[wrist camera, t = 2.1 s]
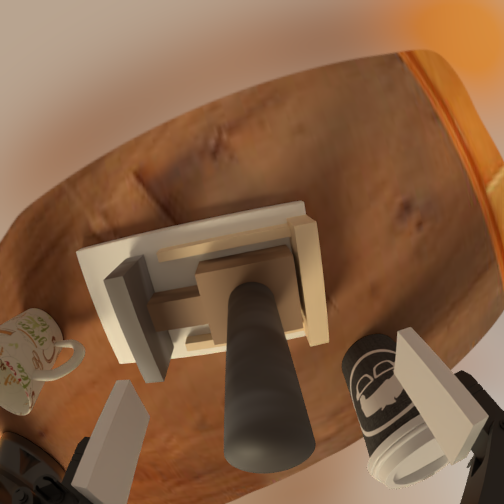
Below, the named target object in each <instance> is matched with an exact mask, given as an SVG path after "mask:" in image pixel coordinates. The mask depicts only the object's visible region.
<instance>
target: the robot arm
mask: <svg viewBox="0 0 504 504" xmlns="http://www.w3.org/2000/svg"><path fill="white" fill-rule="evenodd" d="M394 374H395V376H396V377H397V379H398V380H399V382H400V383H401V385H402V386H403V388H404V390H405V391H406V393H407V394H408V396H409V397H410V399H411V400H412V402H413V403H414V405H415V407H416V408H417V410H418V411H419V413H420V414H421V416H422V418H423V419H424V421H425V422H426V424H427V426H428V427H429V429H430V430H431V432H432V434H433V435H434V437H435V439H436V440H437V442H438V443H439V445H440V447H441V448H442V450H443V452H444V453H445V455H446V457H447V458H448V460H449V462H450V463H451V465H453V464H455V463H457V462H459V461H461V460H462V459H464V458H466V457H467V455H468V454H469V452H470V450H472V452H473V453H474V456H473V457H472V459H471V460H470V462H469V463H468V466H467V468H469V467H470V465H471V467H470V471H469V475H468V479H467V483H466V486H465V490H464V493H463V496H462V500H461V503H460V504H504V411H503V410H502V409H501V408H500V407H499V406H498V405H497V404H496V402H495V401H494V400H493V399H492V398H491V397H490V396H489V394H488V393H487V392H486V391H485V390H483V388H482V386H481V385H480V384H478V382H477V381H476V380H475V379H474V378H473V377H472V376H471V375H470V374H468V373H466V372H464V371H462V370H461V371H459V372H457V373H455V374H453V373H452V371H451V370H450V369H449V368H448V367H447V366H446V365H445V364H444V362H443V361H442V360H441V359H440V358H439V357H438V356H437V355H436V354H435V352H434V351H433V350H432V349H431V348H430V347H429V346H428V345H427V344H426V343H425V341H424V340H423V339H422V338H421V337H420V336H419V335H418V334H417V333H416V332H415V331H414V330H413V329H412V328H411V327H409V328H406V329H403V330H400V331H398V332H397V346H396V357H395V366H394ZM149 419H150V416H149V414H148V412H147V411H146V409H145V407H144V405H143V404H142V402H141V400H140V398H139V396H138V395H137V393H136V391H135V389H134V387H133V385H132V383H131V381H130V380H117V381H116V383H115V385H114V387H113V389H112V391H111V394H110V396H109V398H108V400H107V402H106V404H105V406H104V408H103V411H102V413H101V415H100V417H99V419H98V422H97V424H96V426H95V428H94V431H93V433H92V435H91V437H84V438H83V439H82V440H81V442H80V443H79V444H78V445H77V448H76V450H75V452H74V453H75V454H73V457H72V461H70V464H69V466H68V468H67V471H66V473H65V471H64V470H63V468H62V467H61V466H60V465H59V464H58V463H57V462H56V461H55V460H54V459H53V458H52V457H51V456H49V455H48V454H47V453H46V452H45V451H43V450H42V449H41V448H39V447H38V446H36V445H35V444H33V443H32V442H30V441H29V440H27V439H25V438H23V437H22V436H20V435H17V434H15V433H12V432H5V433H4V434H3V436H2V437H1V439H0V504H127V500H128V496H129V492H130V488H131V484H132V480H133V477H134V473H135V469H136V465H137V461H138V458H139V454H140V450H141V447H142V443H143V439H144V436H145V432H146V429H147V425H148V422H149Z"/></svg>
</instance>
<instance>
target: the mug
mask: <svg viewBox="0 0 504 504" xmlns="http://www.w3.org/2000/svg"><path fill="white" fill-rule="evenodd" d="M62 347H70V348H73V349H74V354H73V356H72V357H71V359H70V360H68V361H67V362H66V363H65V364H63V365H61V366H59V367H58V368H55V369H53V370H51V369H52V367H53V365H54V363H55V361H56V359H57V357H58V355H59V353H60V351H61V349H62ZM84 356H85V348H84V346H83V345H82V344H81V343H79V342H78V341H76V340H63V337H62V333H61V331H60V328H59V327H58V325H57V323H56V322H55V321H54V319H53V318H52V317H51V316H50V315H48V314H47V313H46V312H44V311H42V310H40V309H37V308H31V309H28V310H26V311H24V312H23V313H21V314H19V315H17V316H16V317H14V318H12V319H10V320H9V321H7V322H5V323H4V324H2V325H0V406H1V407H3V408H4V409H6V410H7V411H9V412H11V413H13V414H16V415H27V414H28V413H30V411H31V410H32V408H33V406H34V404H35V402H36V400H37V397H38V395H39V393H40V391H41V389H42V387H43V385H44V383H45V381H53V380H56V379H59V378H61V377H63V376H65V375H67V374H68V373H70V372H71V371H73V370H74V369H75V368H76V367H77V366H78V365H79V364H80V363H81V362H82V360H83V358H84Z"/></svg>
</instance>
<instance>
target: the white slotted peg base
mask: <svg viewBox="0 0 504 504" xmlns="http://www.w3.org/2000/svg"><path fill="white" fill-rule="evenodd" d="M285 244H286V245H287V247H288V248H289V250H290V251H291V253H292V254H293V258H294V265H295V272H296V278H297V285H298V292H299V299H300V307H301V314H302V322H303V328H302V329H297V330H292V331H288V332H284V333H285V336H286V340H288V339H293V338H297V337H302V336H306V337H307V339H308V342H309V344H310V347H311V346H315V345H319V344H323V343H328V342H329V332H328V320H327V308H326V298H325V288H324V278H323V269H322V261H321V252H320V244H319V237H318V229H317V222H316V221H314V220H313V219H312V218H310V217H309V216H307V215H306V211H305V205H304V202H303V201H301V200H300V201H294V202H289V203H283V204H278V205H273V206H267V207H262V208H257V209H252V210H247V211H242V212H237V213H232V214H227V215H222V216H217V217H212V218H207V219H203V220H198V221H193V222H189V223H184V224H180V225H175V226H171V227H166V228H162V229H158V230H153V231H149V232H145V233H140V234H136V235H132V236H128V237H124V238H120V239H116V240H112V241H108V242H104V243H100V244H96V245H92V246H88V247H84V248H81V249H80V250H78V251H76V254H77V257H78V260H79V263H80V267H81V270H82V273H83V275H84V278H85V281H86V284H87V287H88V290H89V292H90V295H91V298H92V300H93V303H94V306H95V308H96V311H97V313H98V316H99V318H100V321H101V323H102V325H103V328H104V330H105V332H106V335H107V337H108V339H109V342H110V344H111V346H112V348H113V350H114V352H115V355H116V357H117V359H118V361H119V363H120V364H123V363H135V362H136V361H135V359H134V357H133V355H132V352H131V350H130V348H129V346H128V343H127V341H126V339H125V336H124V334H123V332H122V329H121V327H120V324H119V322H118V319H117V317H116V314H115V312H114V309H113V306H112V304H111V301H110V298H109V295H108V293H107V290H106V287H105V284H104V281H103V280H104V279H105V278H106V277H107V276H108V275H109V274H110V273H111V272H112V271H113V270H114V269H115V268H116V267H117V266H119V265H120V264H121V263H122V262H123V261H124V260H125V259H126V258H129V257H134V256H139V255H143V254H144V258H145V261H146V264H147V268H148V271H149V274H150V278H151V281H152V284H153V287H154V290H155V292H161V291H166V290H172V289H177V288H183V287H188V286H194V285H197V282H196V278H195V272H196V269H197V266H198V264H199V261H204V260H209V259H214V258H219V257H224V256H229V255H235V254H240V253H245V252H250V251H255V250H260V249H265V248H270V247H275V246H280V245H285ZM168 332H169V334H170V337H171V340H172V342H173V345H174V349H173V352H172V356H171V359H174V358H182V357H190V356H197V355H204V354H211V353H217V352H224V351H226V345H227V343H224V344H218V345H215V344H214V341H213V338H212V335H211V331H210V328H209V325H208V324H205V325H199V326H193V327H186V328H180V329H173V330H168Z"/></svg>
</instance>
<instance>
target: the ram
mask: <svg viewBox="0 0 504 504" xmlns="http://www.w3.org/2000/svg"><path fill="white" fill-rule="evenodd" d="M195 278H196V282H197V285H194V286H188V287H183V288H177V289H172V290H166V291H161V292H155V290H154V287H153V284H152V281H151V278H150V274H149V271H148V268H147V264H146V261H145V258H144V254H143V255H139V256H134V257H129V258H126V259H125V260H124V261H123V262H122V263H121V264H120V265H119V266H117V267H116V268H115V269H114V270H113V271H112V272H111V273H110V274H109V275H108V276H107V277H106V278H105V279H104V280H103V281H104V284H105V287H106V290H107V293H108V295H109V298H110V301H111V304H112V306H113V309H114V312H115V314H116V317H117V319H118V322H119V324H120V327H121V329H122V332H123V334H124V336H125V339H126V341H127V343H128V346H129V348H130V350H131V352H132V355H133V357H134V359H135V361H136V363H137V366H138V368H139V370H140V372H141V374H142V376H143V378H144V380H145V382H146V383H151V382H164V380H165V376H166V373H167V369H168V366H169V363H170V359H171V356H172V352H173V349H174V345H173V342H172V340H171V337H170V334H169V332H168V330H173V329H180V328H186V327H193V326H199V325H205V324H208V325H209V328H210V331H211V335H212V338H213V341H214V344H215V345H218V344H224V343H227V345H226V376H225V415H224V456H225V458H226V460H227V461H228V462H229V463H230V464H231V465H232V466H234V467H236V468H238V469H240V470H243V471H247V472H252V473H274V472H280V471H284V470H288V469H290V468H293V467H295V466H297V465H299V464H301V463H303V462H304V461H305V460H307V459H308V458H309V457H310V456H311V454H312V453H313V451H314V449H315V439H314V435H313V432H312V428H311V425H310V421H309V417H308V414H307V410H306V407H305V403H304V400H303V396H302V393H301V389H300V385H299V382H298V378H297V375H296V371H295V368H294V364H293V361H292V357H291V354H290V350H289V347H288V343H287V340H286V336H285V333H284V332H288V331H292V330H297V329H302V328H303V322H302V314H301V307H300V299H299V292H298V285H297V278H296V272H295V265H294V258H293V254H292V253H291V251H290V250H289V248H288V247H287V245H286V244H285V245H280V246H275V247H270V248H265V249H260V250H255V251H250V252H245V253H240V254H235V255H229V256H224V257H219V258H214V259H209V260H204V261H199V264H198V266H197V269H196V272H195Z"/></svg>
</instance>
